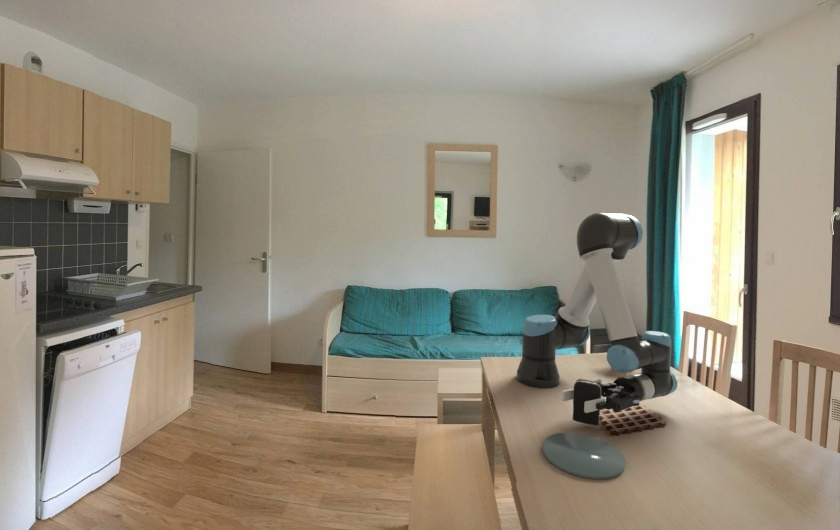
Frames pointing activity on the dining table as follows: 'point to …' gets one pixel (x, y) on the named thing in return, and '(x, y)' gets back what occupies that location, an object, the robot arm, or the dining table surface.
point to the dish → (583, 455)
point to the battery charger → (581, 394)
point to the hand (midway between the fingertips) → (574, 401)
